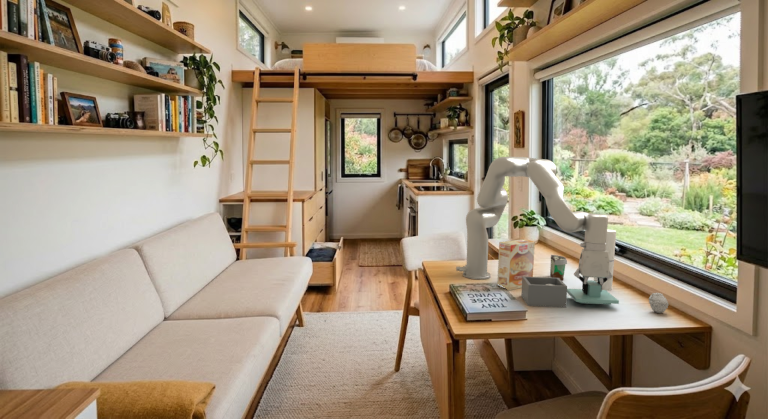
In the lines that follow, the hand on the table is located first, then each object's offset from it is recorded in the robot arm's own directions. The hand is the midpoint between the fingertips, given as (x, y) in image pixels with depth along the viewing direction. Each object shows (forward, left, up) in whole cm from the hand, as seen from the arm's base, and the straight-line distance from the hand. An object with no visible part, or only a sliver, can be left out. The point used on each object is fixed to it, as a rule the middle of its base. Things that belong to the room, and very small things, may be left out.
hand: (591, 293), depth 177 cm
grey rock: (+21, -7, -4) cm, 23 cm away
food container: (-3, +34, -4) cm, 34 cm away
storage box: (-18, 0, -4) cm, 18 cm away
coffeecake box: (-25, +20, -4) cm, 32 cm away
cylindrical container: (+12, +22, -4) cm, 25 cm away
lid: (0, 0, -3) cm, 3 cm away
